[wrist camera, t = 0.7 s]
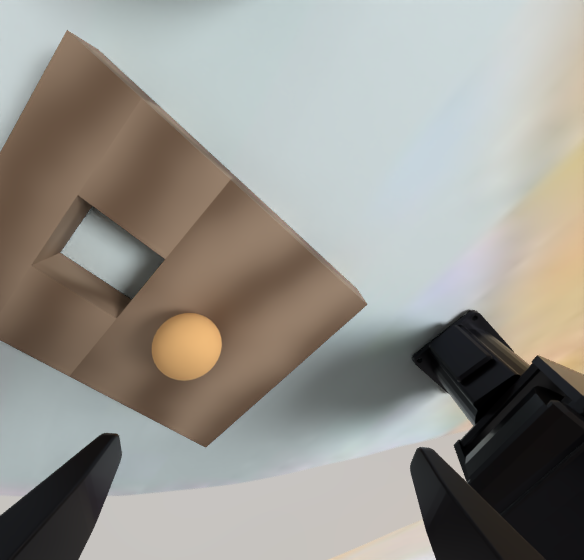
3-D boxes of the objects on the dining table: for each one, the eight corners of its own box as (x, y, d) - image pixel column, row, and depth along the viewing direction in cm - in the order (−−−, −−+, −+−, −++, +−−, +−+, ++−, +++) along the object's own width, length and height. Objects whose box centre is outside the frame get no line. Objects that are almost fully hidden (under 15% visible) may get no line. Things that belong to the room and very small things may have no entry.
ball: (238, 325, 19) (230, 364, 16) (202, 361, 20) (187, 406, 17) (188, 290, 18) (167, 323, 14) (153, 330, 19) (124, 371, 15)
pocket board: (357, 289, 22) (367, 304, 19) (211, 422, 26) (205, 447, 24) (98, 49, 15) (67, 29, 13) (-38, 282, 19) (-80, 298, 17)
